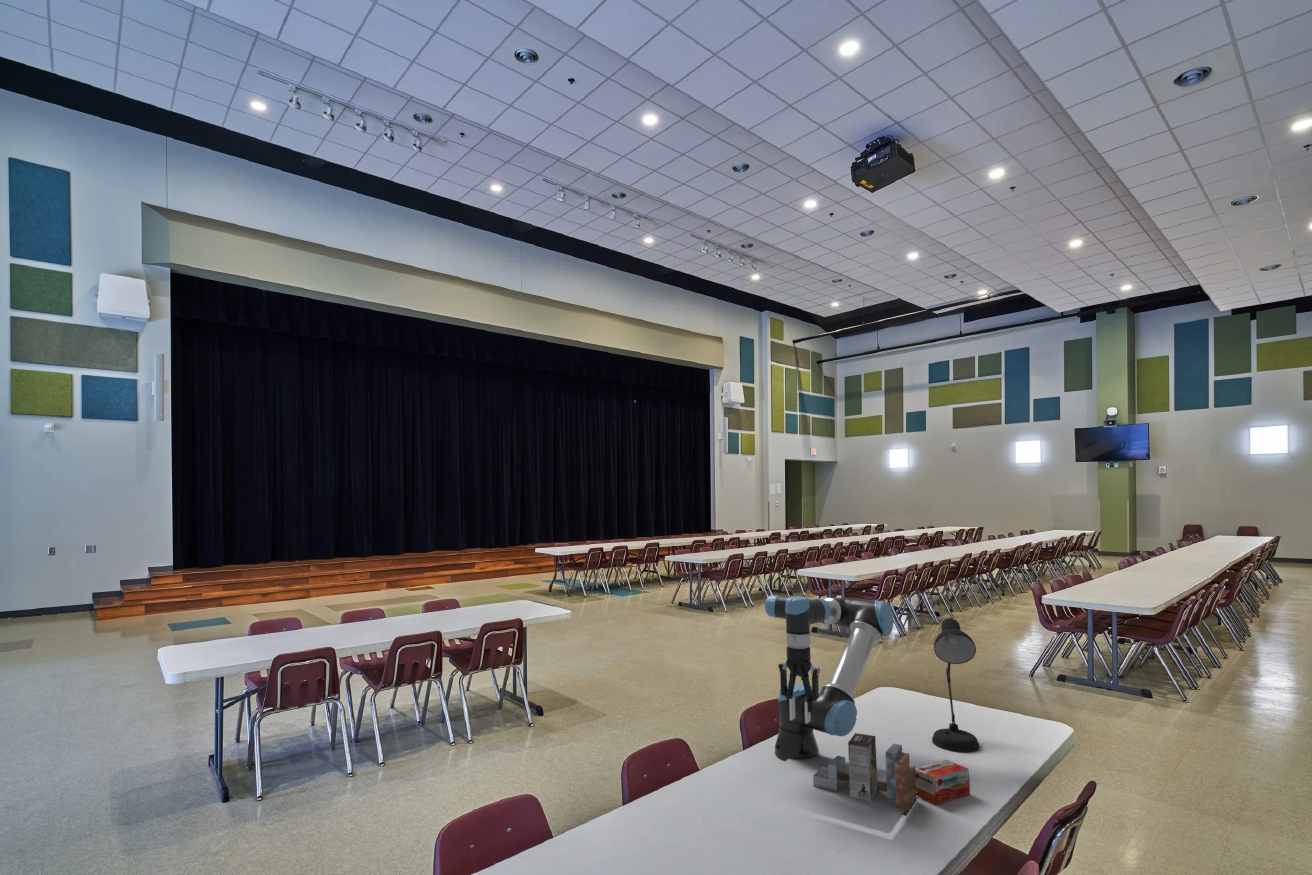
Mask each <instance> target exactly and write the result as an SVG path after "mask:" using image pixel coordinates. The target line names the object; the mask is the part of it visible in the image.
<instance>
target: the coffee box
mask: <svg viewBox="0 0 1312 875" xmlns="http://www.w3.org/2000/svg"><path fill="white" fill-rule="evenodd" d="M876 738H877V737H876V735H869V734H865V733H857V732H856V733H855V732H854V734H853V735H852V737H851V738H850V739H849V741H848V742H847V745H848V746H847V747H848V773H849V778H850V782H849V796H850V798H855V799H860V800H864V801H869V802H871V801H872V800H873V798H874V797H875V795H876V794H877V792H878V790H879V789H877V780H878V770H877V769H878V768H877V747H876V745H877V744H876V743H877V742H876Z"/></svg>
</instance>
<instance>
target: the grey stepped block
mask: <svg viewBox="0 0 1312 875" xmlns="http://www.w3.org/2000/svg"><path fill="white" fill-rule="evenodd" d="M827 765H828V767H826V766H821V767H822V768H821V767H820V769H819V770H817V771H816V772H815V773H814V774H813V775H812V783H813V787H817V788H821V789H825V790H828V791H829V790H830V791H833V792H836V793H837V792H838V791H840V789H841V788H842V787H843V786H844V785H845V784H846V783H847V781H846V772H847V771H846V770H847V769H846V768H847V767H846V765H847V764H846V757H845V756H841V755H836V757H834V758H833V759H832V760H831V761H830V762H829V763H828V764H827Z"/></svg>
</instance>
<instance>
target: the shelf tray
mask: <svg viewBox="0 0 1312 875" xmlns="http://www.w3.org/2000/svg"><path fill="white" fill-rule="evenodd" d="M822 767H823V766H821V767H820V769H821V768H822ZM885 767H886V768H885V770H886V772H885V773H886V781H885V780H880V779H877V789H878V790H881V791H886V798H887V805H888V806H891V807H893V808H894V807H895V808H898V809H902V811H903V812H902V814H901V815H902V816H905V817H907V816H908V815H909V813H910V811H911V809H912V808H913V807H914V805H915V804H916V802H917V795H916V793H917V792H916V778H915V768H916V766H915V765H911V766H910V753H909V752H903V745H902V744H899V743H892V744H891V746H889V748H888V749H887V750H886V751H885ZM846 782H849V783H850V778H849V772H847V771H846Z"/></svg>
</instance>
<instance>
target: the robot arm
mask: <svg viewBox="0 0 1312 875" xmlns="http://www.w3.org/2000/svg"><path fill="white" fill-rule="evenodd" d="M764 610H765V613H766V615H767V616H768V617H772V618H775V619H776V618H777V619H783V620H784V619H785V626H786V628H785V630H786V631H785V632H786V634H785V635H786V637H785V638H786V645H787V646H786V660H785V662H781V663H779V664H778V665H777V666H778V670H779V675H780V676H779V677H780V678H779V680H780V689H779V691H778V718H779V720H778V721H779V723H778V724H779V726H778V727H779V730H778V734H777V738H776V742H775V744H774V754H775V756H776V757H777V758H778V759H780V760H784V761H788V760H789V759H792V760H809V759H813V758H815V757H817V756H820V752H819V750H820V749H819V746H818V743H817V739H816V737H815V733H814V730H815V731H818V732H821V733H824V734H825V733H826V734H827V735H830V736H836V737H846V736H847V735H849V734H850V733H851V732H852V731H853V729H854V728H855V726H856V722H857V716H858V711H857V706H856V701H855V699H854V698H853V697H854V694H855V692H856V689H857V687H858V685H859V682H860V680H861V677H862V674H863V672H864V670H865V667H866V665H867V662H868V660H869V657H870V654H871V652H872V650H873V647H874V645H875V644H876V643H878V642H879V643H880V641H881V640H882V637H883V635H885V636H887V635H889V634H891V633H892V630H893V627H894V615H893V611H892V608H891V606H890V605H889V604H888V602H886V601H880V600H872V599H865V598H855V597H834V598H833V597H832V598H831V597H827V598H823V599H822V598H807V597H806V596H798V595H796V596H783V595H777V594H776V595H775V594H771V595H769V596H768V597H767V598H766V599H765V602H764ZM823 622H824V623H825V624H828V625H835V626H839V627H842V628H845V629H848V630H850V635H849V637H848V640H847V641H846V644H845V646H844V648H843V651H842V653H841V655H840V658H839V660H838V663H837V664H836V667H835V669H834V671H833V674H832V676H831V679H830V680H829V683H828V684H825V685H822V688H821V689H820V688H819V675H820V672H821V668H819V667H814V665H813V663H812V662H811V659H812V658H811V647H810V646H811V631H810V627H811V626H812V625H814V624H821V623H823ZM810 625H811V626H810ZM787 669H788V670H787ZM788 671H789V676H787V675H788V674H787V673H788ZM809 672H810V673H811V682H810V675H809ZM797 676H798V677H800V679H801V681H802V684H796V678H797ZM788 677H789V680H788ZM819 689H820V691H819Z"/></svg>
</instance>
